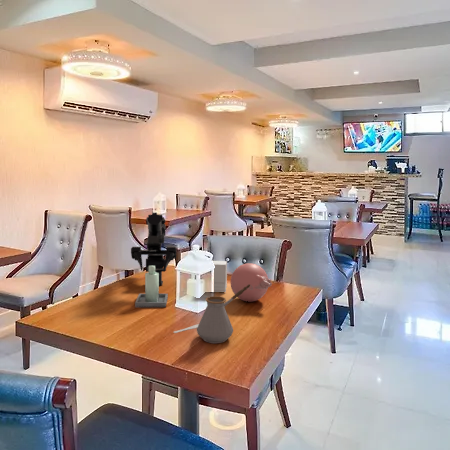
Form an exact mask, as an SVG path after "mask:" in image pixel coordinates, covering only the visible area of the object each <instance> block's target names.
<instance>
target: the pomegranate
mask: <svg viewBox="0 0 450 450" xmlns="http://www.w3.org/2000/svg"><path fill="white" fill-rule="evenodd" d="M271 281H272V280H271V279H270V278H269V277H268V274H267V273H266V271H265V269H264V268H262V267H261V266H260V265H258V264H255V263H251V262H247V263H243V264H241V265H239V266H238V267H236V268H235V269H234V271H233V272H232V274H231V276H230V288H231V291H232V292H233V294H234V295H235V294H236V293H237V292H238V291H240V290H242V289H243V288H244V287H246V286H247V285H249V284H250V285H251V286H252V287H253V289H252V287H251V286H250V287H249V288H250V289H252V290H250V289H249V288H247V290H245V291H244V292H243V293H242V294H241V295H239V296H238V297H237V298H238V299H240V300H241V301H244V302H247V301H248V302H249V303H250V302H251V303H252V302H256V301H258V300H260V299H261V298H263V297H264V296H265V295H266V293H267V291H268V289H269V288H270V287H272V285H273V283H272V282H271Z"/></svg>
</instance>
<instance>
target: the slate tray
mask: <svg viewBox="0 0 450 450" xmlns="http://www.w3.org/2000/svg"><path fill="white" fill-rule="evenodd" d="M168 295H169V294H168V293H159V301H158V302H146V301H145V293H138V296H137V298H136V299H135V302H134V308H166V307H167V302H168V297H169V296H168Z"/></svg>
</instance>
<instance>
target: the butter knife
mask: <svg viewBox="0 0 450 450" xmlns="http://www.w3.org/2000/svg"><path fill="white" fill-rule="evenodd" d="M198 325H199V323H197V324H194V325H191V326H189V327H185V328H181V329H179V330H174V331H173V333H174V334H177V333H181V332H185V331H189V330H190V331H191V330H194V329H197V327H198Z"/></svg>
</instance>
